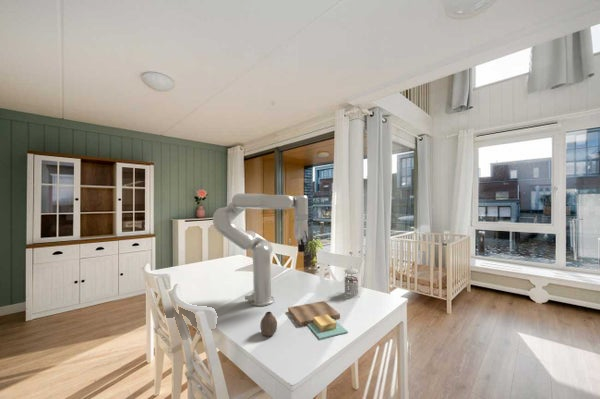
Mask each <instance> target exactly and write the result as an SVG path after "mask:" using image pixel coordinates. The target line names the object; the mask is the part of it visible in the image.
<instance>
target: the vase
mask: <svg viewBox="0 0 600 399" xmlns="http://www.w3.org/2000/svg"><path fill="white" fill-rule="evenodd" d="M259 327H260V332H261V333H262V335H264V336H265V337H271V336H273V335H274V334H276V332H277V329H278V321H277V318H276V317H275V316H274V315H273V313H272V311H266V312H265V314H264V316H263V317H262V318H261V320H260V326H259Z"/></svg>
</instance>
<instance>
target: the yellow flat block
mask: <svg viewBox="0 0 600 399" xmlns="http://www.w3.org/2000/svg"><path fill="white" fill-rule="evenodd" d="M313 323H314V324H315V325H316V326H317V327H318V328H319V330H320V331H321V332H323V331H328V330H332V329H336V322H335V321H334V320H333V319H332V318H331V317H330V316H329V315H322V316H317V317H313Z"/></svg>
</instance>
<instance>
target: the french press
mask: <svg viewBox="0 0 600 399" xmlns="http://www.w3.org/2000/svg"><path fill="white" fill-rule="evenodd" d="M352 254H354V253H353V251H349V255H352ZM343 271H344V275H346V274H347V275H346V276H344V292H343V293H342V295H343V296H344V297H346V298H349V299H355V298H359V297H361V294H360V293H359V279H358V277H357V276H354V274H358V273H359V270H358V269H356V268H353V267H349V268H346V269H344V270H343Z"/></svg>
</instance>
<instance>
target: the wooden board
mask: <svg viewBox="0 0 600 399" xmlns="http://www.w3.org/2000/svg"><path fill="white" fill-rule="evenodd" d="M287 312H288V313H289V314H290V316H291V317H292V319H293V320H294V321H295V322H296V323H297V325H298V326H299V327H300V328H301V327H306V326H307V327H308V324H310V323H313V317H317V316H322V315H329V316H330V317H331V318H332V319H335V320H339V319H341V313H339V312H338V311H337V310H336V309H334V307H332V306H331V305H330V304H328V303H327V302H326V301H324V300H323V301H317V302H312V303H306V304H305V303H304V304H299V305H296V306H295V305H293V306H291V307H290V306H289V307H287Z"/></svg>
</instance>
